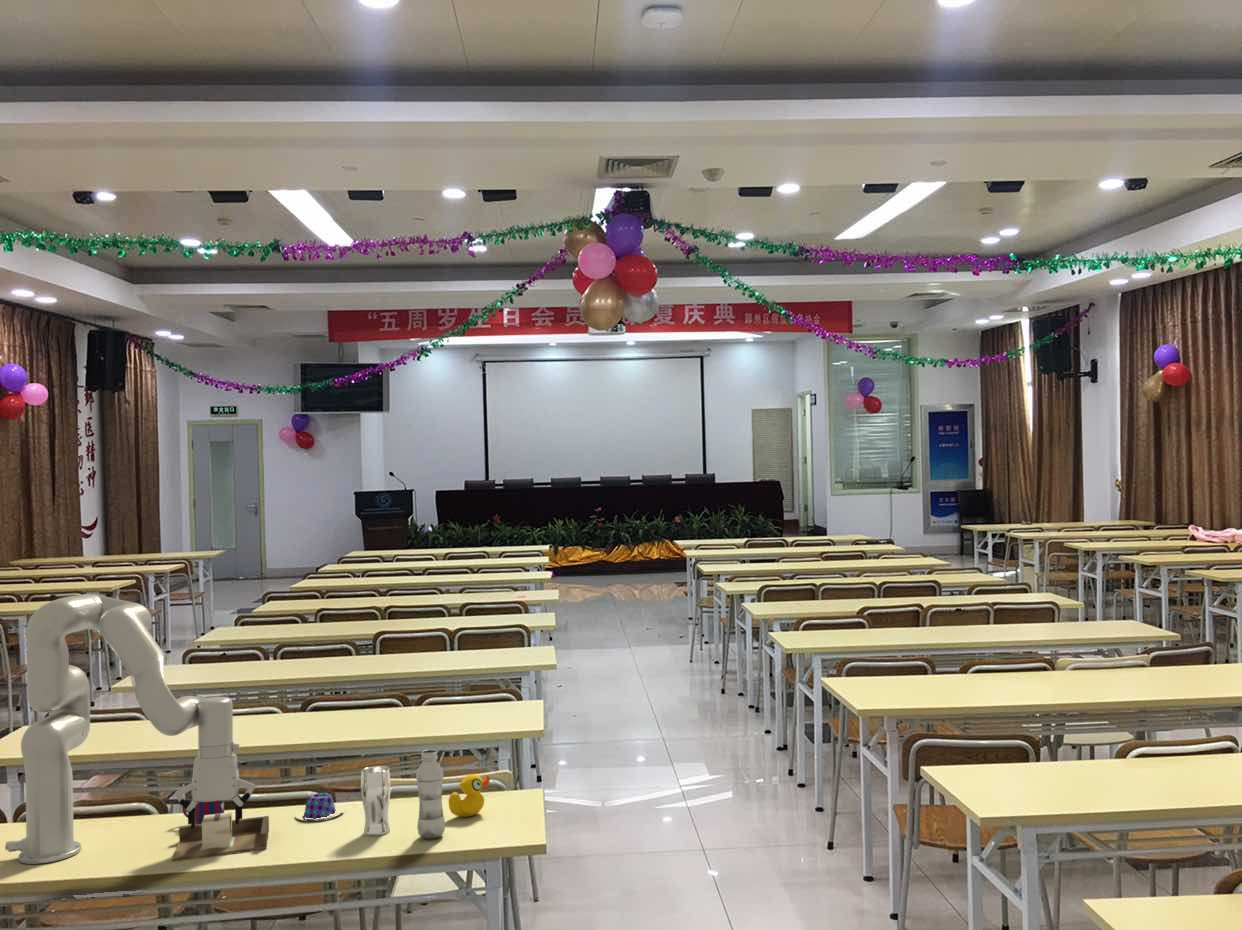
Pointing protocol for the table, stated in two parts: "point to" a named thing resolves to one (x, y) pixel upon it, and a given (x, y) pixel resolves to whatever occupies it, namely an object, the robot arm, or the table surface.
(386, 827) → the beer glass
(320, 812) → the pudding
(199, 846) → the wooden tray
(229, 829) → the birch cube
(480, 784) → the duckling
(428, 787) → the plastic bottle
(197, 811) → the mug
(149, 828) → the table surface
